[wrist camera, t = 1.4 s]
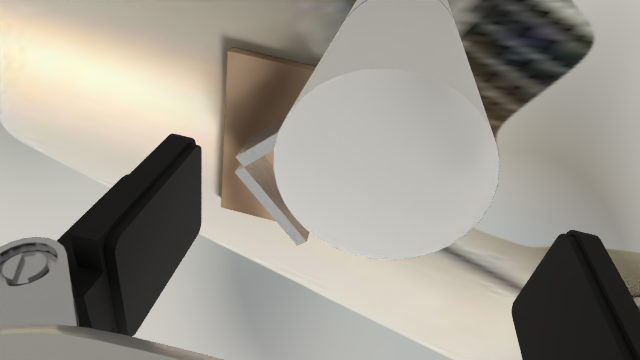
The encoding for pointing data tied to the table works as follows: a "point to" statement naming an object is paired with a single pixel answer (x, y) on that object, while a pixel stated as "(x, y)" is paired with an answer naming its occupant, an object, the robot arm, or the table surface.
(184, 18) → the table surface
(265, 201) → the v cradle
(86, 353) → the robot arm
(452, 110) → the cylindrical container
